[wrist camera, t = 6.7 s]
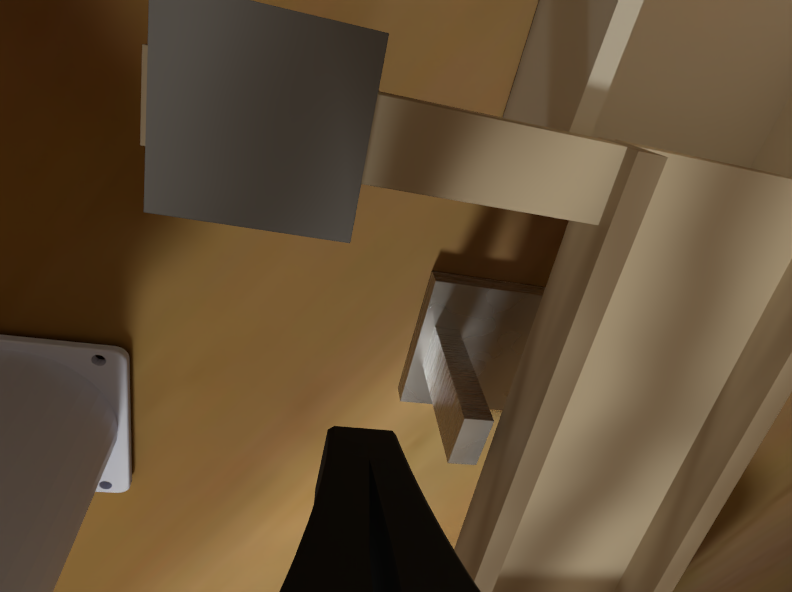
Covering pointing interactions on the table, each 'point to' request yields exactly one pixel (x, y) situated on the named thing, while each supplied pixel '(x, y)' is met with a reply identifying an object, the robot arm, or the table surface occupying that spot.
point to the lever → (564, 294)
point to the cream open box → (664, 76)
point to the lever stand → (467, 355)
